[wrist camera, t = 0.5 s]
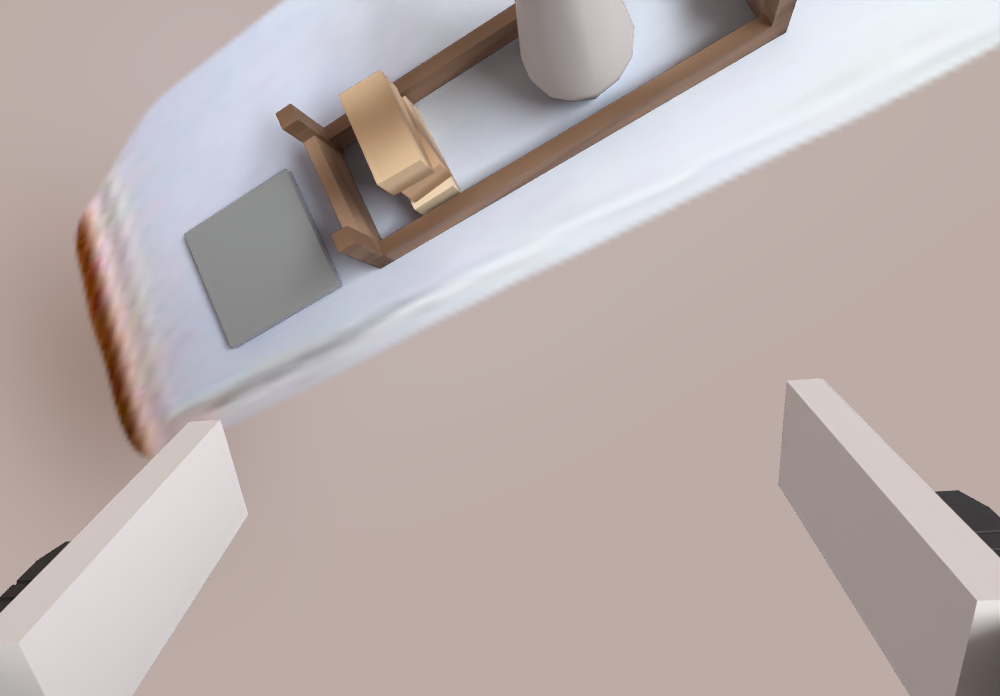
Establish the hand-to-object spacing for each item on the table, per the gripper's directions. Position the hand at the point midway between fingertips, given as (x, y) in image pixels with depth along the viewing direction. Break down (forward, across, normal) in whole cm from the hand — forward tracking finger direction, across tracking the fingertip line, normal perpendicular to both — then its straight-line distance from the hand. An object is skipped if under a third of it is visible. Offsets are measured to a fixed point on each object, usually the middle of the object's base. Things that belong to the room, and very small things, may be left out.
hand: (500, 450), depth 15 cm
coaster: (+25, +16, +1) cm, 30 cm away
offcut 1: (+22, +6, -6) cm, 24 cm away
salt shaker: (+26, -4, -8) cm, 28 cm away
